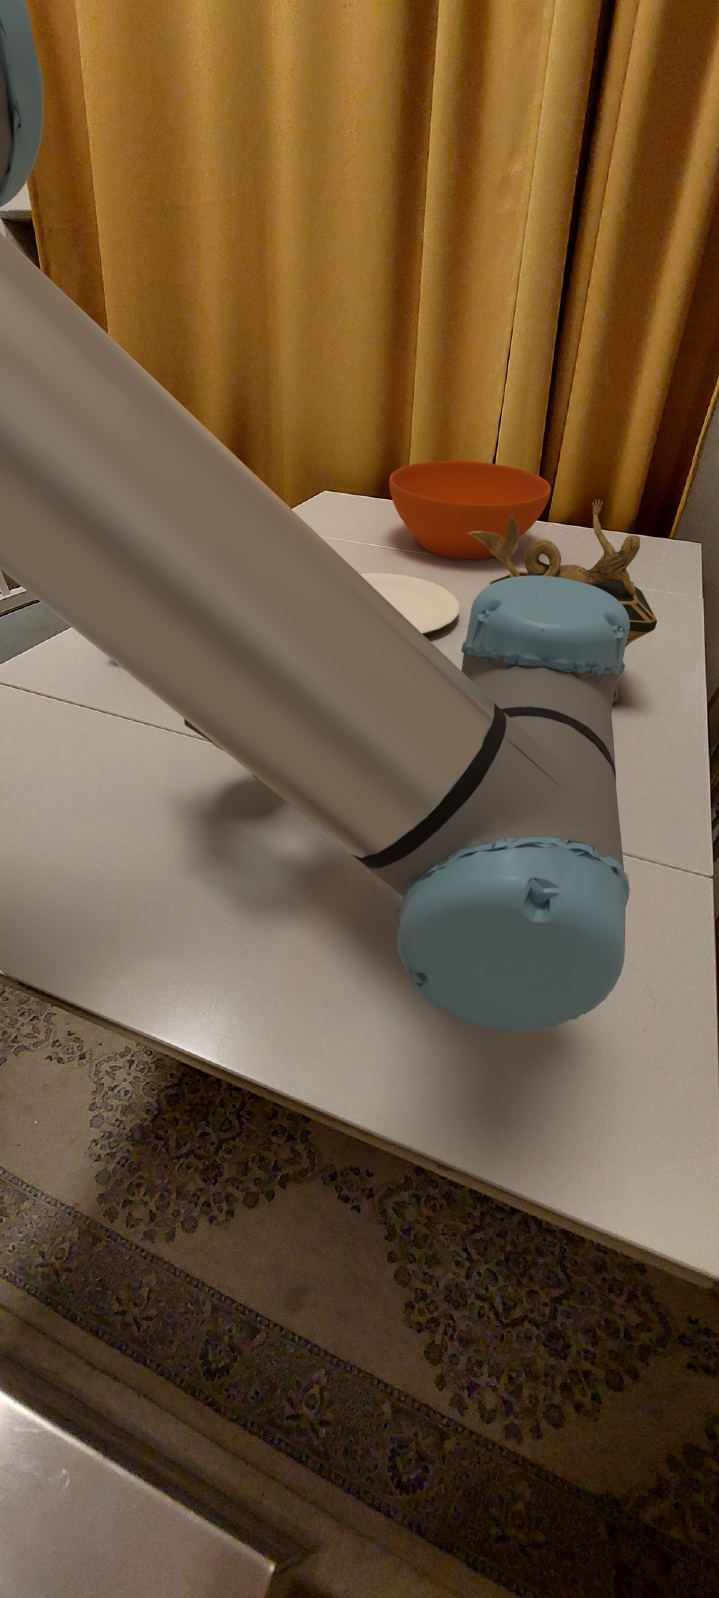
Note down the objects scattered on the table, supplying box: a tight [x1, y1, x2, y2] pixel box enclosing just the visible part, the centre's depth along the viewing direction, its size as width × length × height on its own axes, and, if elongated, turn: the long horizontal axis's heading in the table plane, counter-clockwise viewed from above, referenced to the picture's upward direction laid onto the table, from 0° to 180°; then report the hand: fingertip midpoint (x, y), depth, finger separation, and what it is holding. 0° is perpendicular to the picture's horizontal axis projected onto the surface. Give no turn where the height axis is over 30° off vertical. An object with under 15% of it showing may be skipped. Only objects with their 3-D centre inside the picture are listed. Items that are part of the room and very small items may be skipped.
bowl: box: [388, 460, 552, 560], centre depth 122 cm, size 25×25×10 cm
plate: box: [359, 572, 461, 636], centre depth 101 cm, size 21×21×2 cm
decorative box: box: [468, 498, 658, 703], centre depth 82 cm, size 20×10×20 cm, turn 85°
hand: (214, 646), depth 64 cm, fingers closed on cup, 7 cm apart
